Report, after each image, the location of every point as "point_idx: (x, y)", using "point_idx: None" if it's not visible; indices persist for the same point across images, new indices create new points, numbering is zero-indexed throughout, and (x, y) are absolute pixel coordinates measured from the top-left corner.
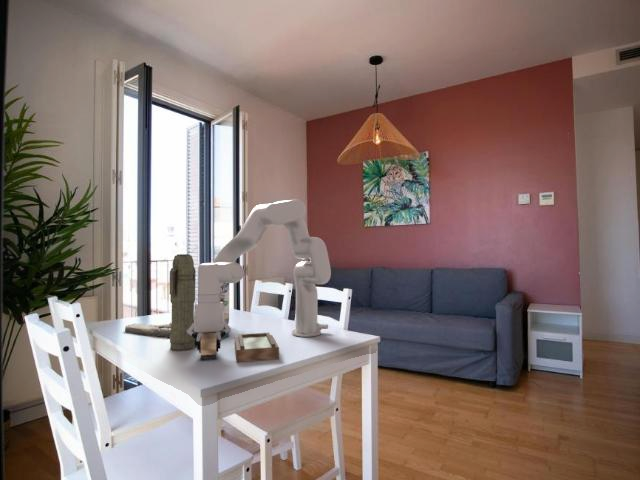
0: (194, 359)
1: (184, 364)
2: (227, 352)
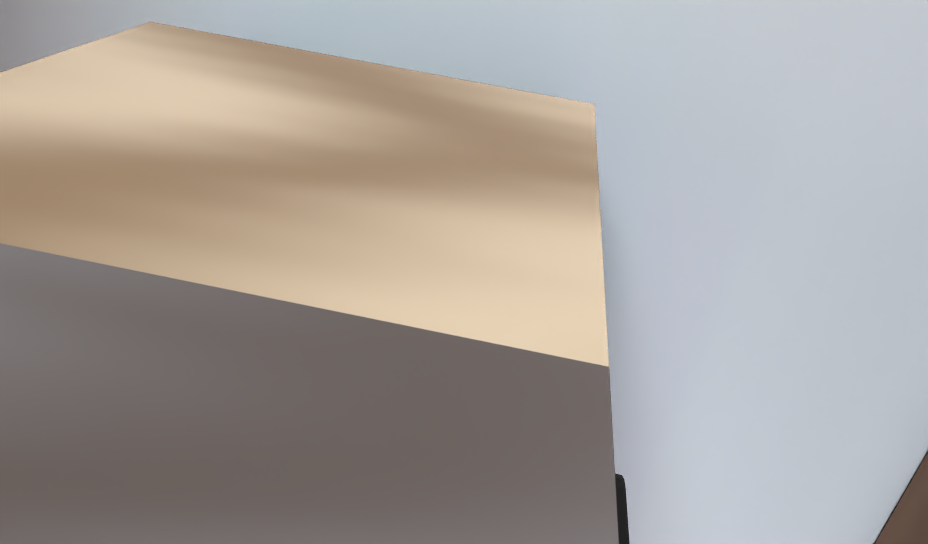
0: None
1: None
2: (839, 217)
